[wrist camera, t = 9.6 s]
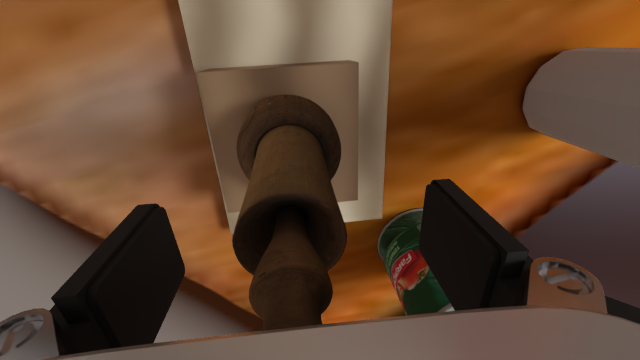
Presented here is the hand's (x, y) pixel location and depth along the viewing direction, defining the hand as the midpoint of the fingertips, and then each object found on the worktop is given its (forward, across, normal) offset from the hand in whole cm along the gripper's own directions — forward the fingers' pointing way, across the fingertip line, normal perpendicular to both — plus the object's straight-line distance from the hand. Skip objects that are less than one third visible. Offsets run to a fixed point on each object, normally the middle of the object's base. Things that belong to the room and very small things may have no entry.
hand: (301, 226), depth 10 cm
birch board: (+15, 0, 0) cm, 15 cm away
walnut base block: (+14, +1, 0) cm, 14 cm away
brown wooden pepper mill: (+11, +1, 0) cm, 11 cm away
